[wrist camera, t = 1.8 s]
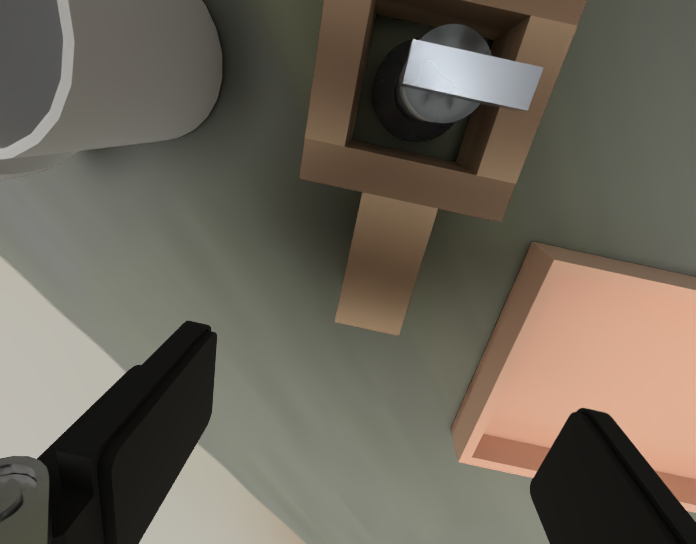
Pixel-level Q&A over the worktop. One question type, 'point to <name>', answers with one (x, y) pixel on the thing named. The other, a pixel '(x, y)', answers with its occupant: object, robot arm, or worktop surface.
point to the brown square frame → (413, 169)
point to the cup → (101, 76)
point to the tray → (587, 365)
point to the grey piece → (446, 82)
